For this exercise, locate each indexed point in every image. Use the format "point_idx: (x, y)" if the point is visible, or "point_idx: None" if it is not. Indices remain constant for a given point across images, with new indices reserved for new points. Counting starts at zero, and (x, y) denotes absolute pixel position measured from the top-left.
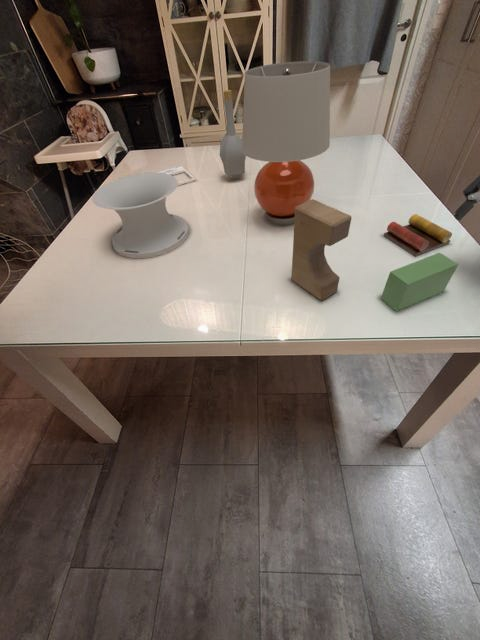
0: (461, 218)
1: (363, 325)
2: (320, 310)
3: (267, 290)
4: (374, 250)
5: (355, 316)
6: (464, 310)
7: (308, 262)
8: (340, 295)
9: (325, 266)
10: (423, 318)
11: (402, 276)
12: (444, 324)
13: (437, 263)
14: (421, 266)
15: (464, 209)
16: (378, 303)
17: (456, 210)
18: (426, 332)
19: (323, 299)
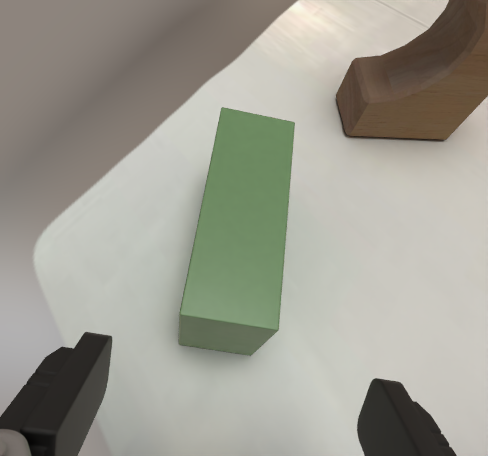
0: (362, 441)
1: (227, 100)
2: (313, 79)
3: None
4: (466, 361)
5: (258, 108)
6: (86, 313)
7: (431, 26)
8: (331, 134)
9: (411, 78)
10: (152, 202)
11: (256, 125)
12: (101, 221)
13: (234, 255)
14: (256, 202)
15: (398, 423)
16: None
17: (429, 417)
18: (119, 169)
19: (336, 96)
